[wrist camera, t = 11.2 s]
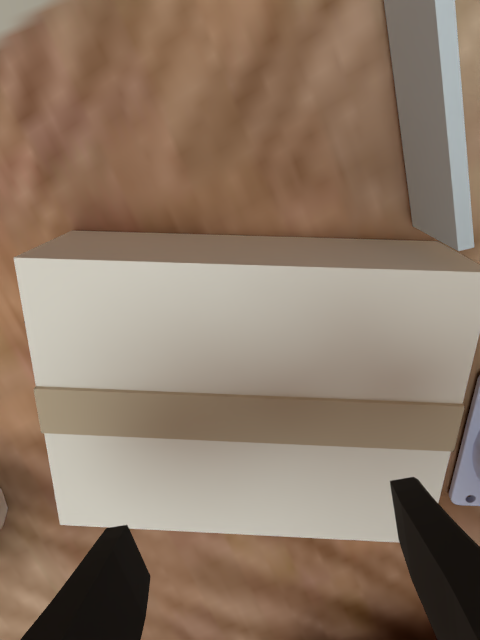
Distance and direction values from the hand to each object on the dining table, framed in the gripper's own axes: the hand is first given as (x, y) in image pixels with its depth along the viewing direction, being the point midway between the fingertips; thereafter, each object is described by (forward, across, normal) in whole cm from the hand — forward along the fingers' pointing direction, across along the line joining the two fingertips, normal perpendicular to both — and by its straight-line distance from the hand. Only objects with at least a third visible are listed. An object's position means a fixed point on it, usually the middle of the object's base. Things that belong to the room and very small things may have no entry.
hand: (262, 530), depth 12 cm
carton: (+10, 0, 0) cm, 10 cm away
